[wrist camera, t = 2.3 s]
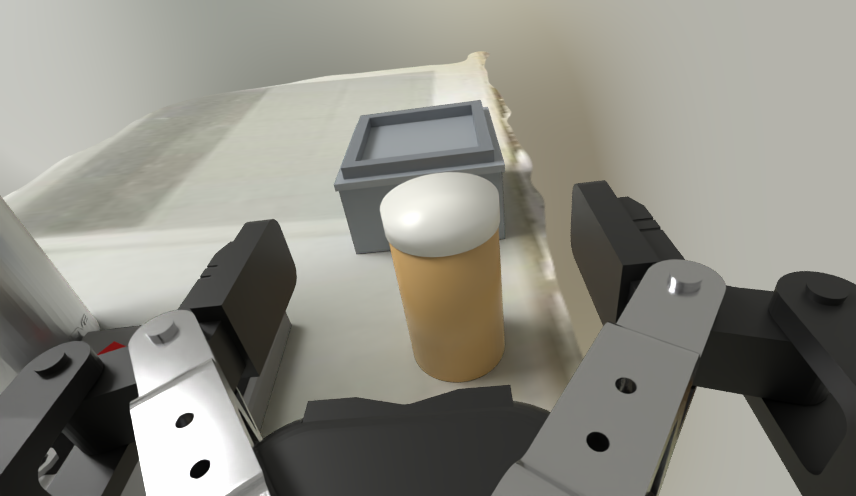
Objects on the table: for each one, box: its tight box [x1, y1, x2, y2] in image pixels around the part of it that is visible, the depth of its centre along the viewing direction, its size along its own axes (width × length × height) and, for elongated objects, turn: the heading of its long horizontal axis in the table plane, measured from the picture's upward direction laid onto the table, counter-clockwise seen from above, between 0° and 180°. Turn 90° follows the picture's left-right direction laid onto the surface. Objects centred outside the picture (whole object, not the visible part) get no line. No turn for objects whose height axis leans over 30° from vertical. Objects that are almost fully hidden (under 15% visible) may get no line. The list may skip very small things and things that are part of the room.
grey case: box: [334, 100, 505, 254], centre depth 43 cm, size 13×13×8 cm
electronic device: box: [81, 311, 291, 432], centre depth 30 cm, size 10×2×15 cm
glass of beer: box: [380, 172, 505, 382], centre depth 27 cm, size 6×6×11 cm
